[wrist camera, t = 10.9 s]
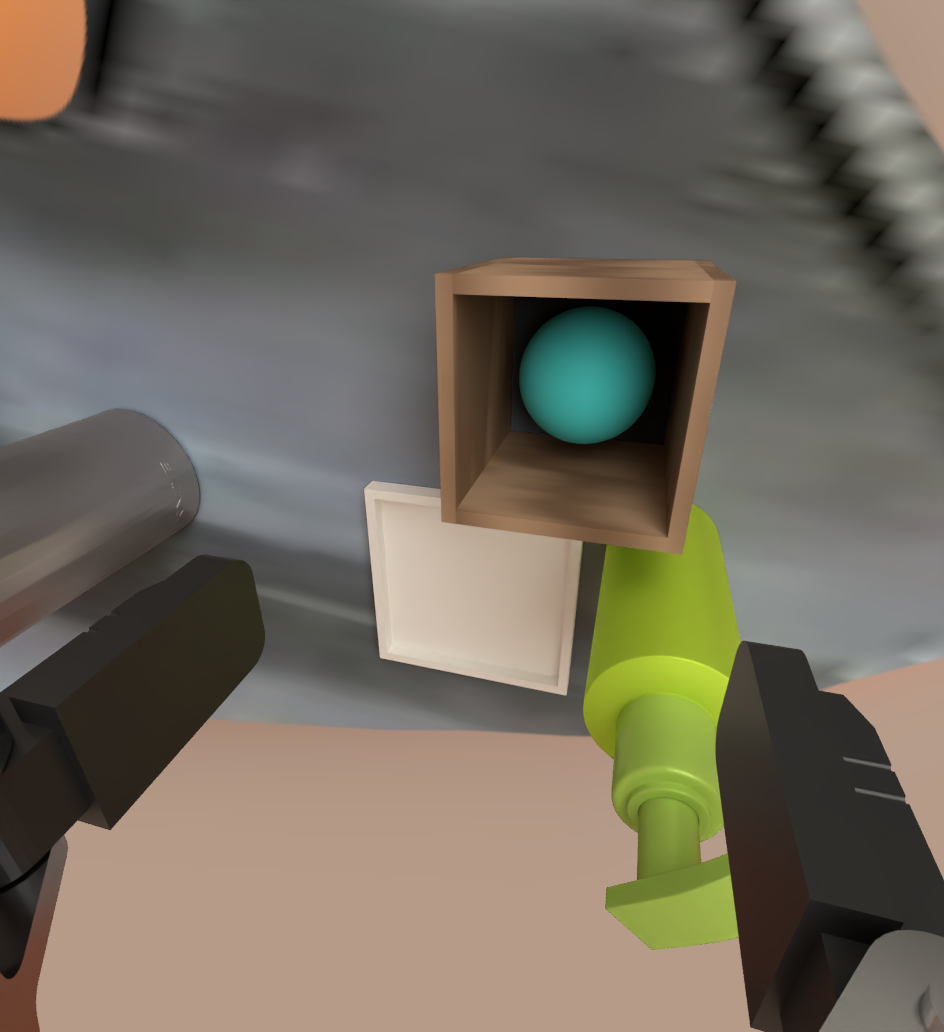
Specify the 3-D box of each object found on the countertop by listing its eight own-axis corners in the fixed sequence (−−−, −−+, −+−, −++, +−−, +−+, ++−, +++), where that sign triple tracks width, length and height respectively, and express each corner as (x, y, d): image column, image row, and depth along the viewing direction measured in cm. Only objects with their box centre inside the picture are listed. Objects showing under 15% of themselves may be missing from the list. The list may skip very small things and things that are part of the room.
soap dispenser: (761, 541, 30) (902, 966, 13) (654, 606, 33) (654, 1009, 16) (687, 462, 29) (732, 803, 12) (585, 537, 33) (510, 884, 16)
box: (499, 440, 31) (441, 521, 23) (503, 257, 27) (434, 274, 19) (681, 457, 29) (692, 556, 21) (717, 260, 25) (749, 281, 16)
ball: (535, 296, 28) (508, 313, 22) (664, 300, 26) (667, 320, 21) (529, 416, 30) (504, 456, 25) (646, 425, 29) (644, 470, 24)
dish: (386, 646, 41) (380, 657, 40) (372, 480, 35) (363, 488, 34) (568, 682, 38) (566, 695, 37) (587, 506, 32) (584, 516, 31)
